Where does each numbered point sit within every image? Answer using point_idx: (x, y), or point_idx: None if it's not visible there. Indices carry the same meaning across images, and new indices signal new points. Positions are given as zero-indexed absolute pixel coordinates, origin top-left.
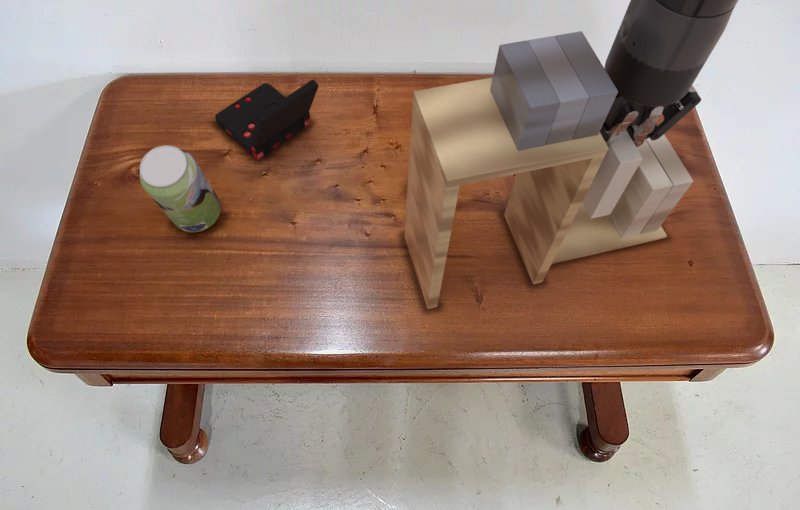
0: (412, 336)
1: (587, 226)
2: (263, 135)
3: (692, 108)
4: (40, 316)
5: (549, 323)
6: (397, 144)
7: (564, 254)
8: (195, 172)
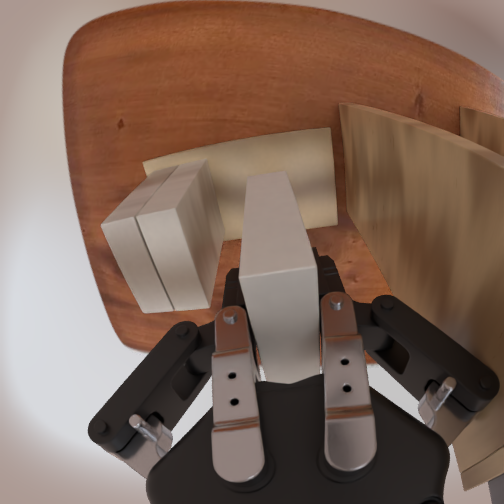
0: (482, 83)
1: None
2: None
3: (104, 406)
4: None
5: (342, 45)
6: None
7: (298, 138)
8: None
